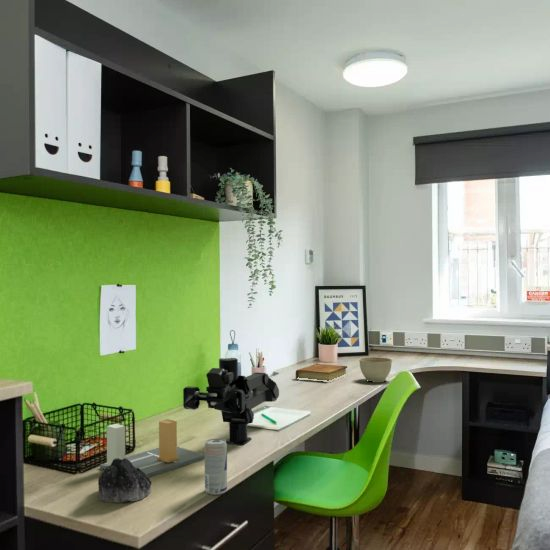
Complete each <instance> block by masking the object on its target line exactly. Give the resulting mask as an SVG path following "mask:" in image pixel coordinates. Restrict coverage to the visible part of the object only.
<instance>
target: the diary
mask: <svg viewBox="0 0 550 550" xmlns="http://www.w3.org/2000/svg"><path fill="white" fill-rule="evenodd" d="M347 369H348V365H338V364H337V365H336V364H335V365H334V364H324V363H315V364H312V365H309V366H305V367H301V368H299V369H297V370H296V371H295V379H296V378H298V377H299V378H308V379H317V380H327V381H329V380H332V379H334V378H337V377H340V376H342V375H344V374H346V372H347ZM346 375H347V374H346Z"/></svg>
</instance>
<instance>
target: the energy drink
mask: <svg viewBox="0 0 550 550" xmlns="http://www.w3.org/2000/svg"><path fill="white" fill-rule="evenodd" d="M226 440H227V439H224V438H210V439H207V440H205V443H204V454H205V459H204V491H205V493H206V494H207V495H211V496H219V495H223V494H225V493H226V492H227V490H228V444H227V443H226Z"/></svg>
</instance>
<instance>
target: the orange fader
mask: <svg viewBox="0 0 550 550" xmlns="http://www.w3.org/2000/svg"><path fill="white" fill-rule="evenodd" d="M177 423H178V422H177V420H174V419H168V418H166V419H163V420H158V448H159V457H157V460H161V461H164V462H167V463H169V462H172V461H175V460H178V459H179V457H177V447H178V445H177V444H178V442H177V441H178V439H177V438H178V437H177V436H178V431H177V427H178V425H177Z"/></svg>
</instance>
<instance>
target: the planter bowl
mask: <svg viewBox="0 0 550 550" xmlns="http://www.w3.org/2000/svg"><path fill="white" fill-rule="evenodd" d="M358 360H359V368H360V372H361V373H362V375H363V377H364V378H365V381H366V380H368V381H374V382H373V383H384V381H385V382H386V379H387V378H388V376H389V375H390V372H391V369H392V363H393V360H392V359H391V358H388V357H380V356H379V357H378V356H377V357H376V356H370V357H368V356H367V357H360V358H359V359H358ZM368 381H367V382H368Z"/></svg>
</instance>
